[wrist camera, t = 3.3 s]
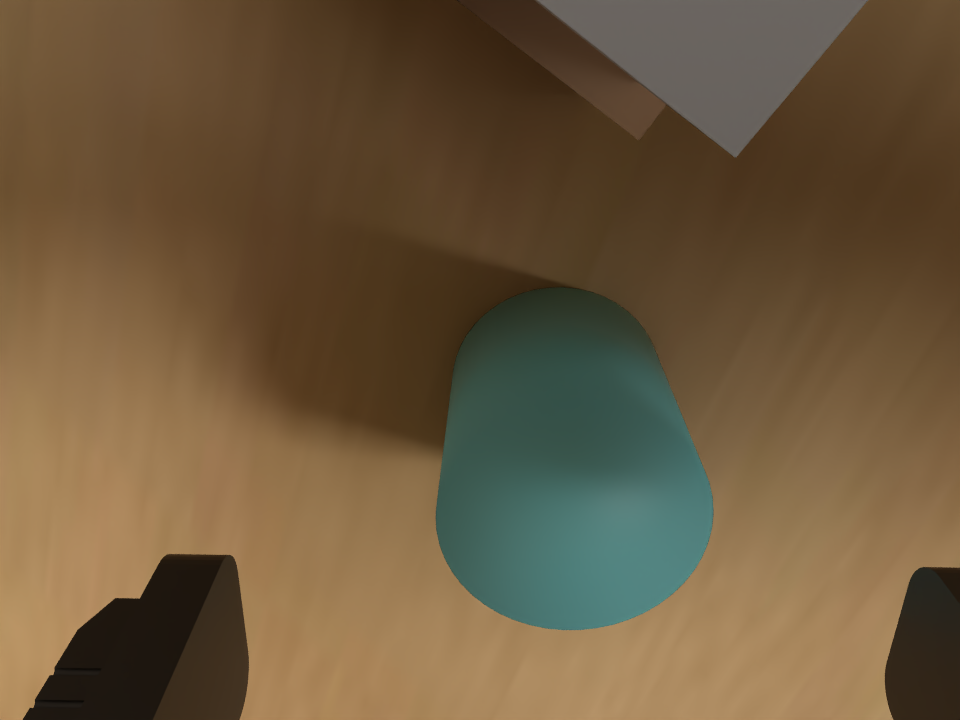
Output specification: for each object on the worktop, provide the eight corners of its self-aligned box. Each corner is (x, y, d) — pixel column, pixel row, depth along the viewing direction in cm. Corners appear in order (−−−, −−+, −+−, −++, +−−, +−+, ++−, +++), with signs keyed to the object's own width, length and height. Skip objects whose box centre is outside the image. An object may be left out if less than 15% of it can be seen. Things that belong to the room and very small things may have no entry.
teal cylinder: (691, 424, 18) (753, 571, 14) (510, 502, 19) (512, 664, 15) (607, 250, 17) (646, 351, 12) (414, 343, 18) (384, 469, 13)
